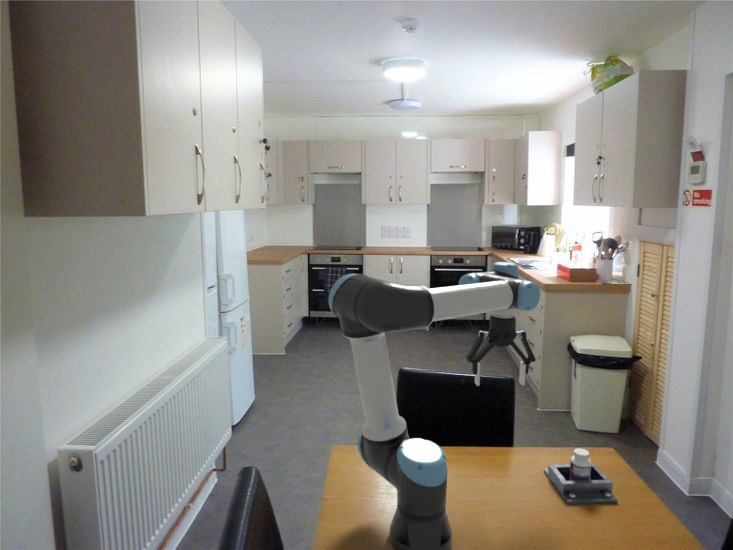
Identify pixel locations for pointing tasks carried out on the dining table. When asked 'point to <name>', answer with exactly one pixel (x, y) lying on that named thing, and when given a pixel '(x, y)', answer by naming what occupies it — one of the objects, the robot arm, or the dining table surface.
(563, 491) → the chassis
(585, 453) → the pill bottle
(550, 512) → the dining table surface
